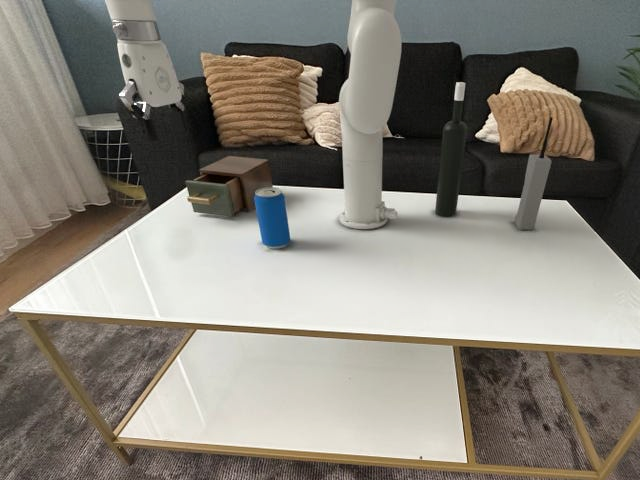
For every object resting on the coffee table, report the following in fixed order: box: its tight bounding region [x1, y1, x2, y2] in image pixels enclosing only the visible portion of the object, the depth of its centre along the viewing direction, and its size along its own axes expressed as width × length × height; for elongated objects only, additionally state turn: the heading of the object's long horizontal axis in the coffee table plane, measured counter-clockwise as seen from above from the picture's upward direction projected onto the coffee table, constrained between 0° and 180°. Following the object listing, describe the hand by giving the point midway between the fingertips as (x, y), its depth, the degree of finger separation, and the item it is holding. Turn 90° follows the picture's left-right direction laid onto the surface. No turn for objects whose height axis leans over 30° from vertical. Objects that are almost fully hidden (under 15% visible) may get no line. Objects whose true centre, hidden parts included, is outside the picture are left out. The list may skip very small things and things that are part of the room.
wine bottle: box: [434, 81, 468, 218], centre depth 102 cm, size 6×6×30 cm
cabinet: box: [198, 155, 274, 212], centre depth 114 cm, size 15×13×10 cm
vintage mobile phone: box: [513, 116, 554, 231], centre depth 98 cm, size 4×5×25 cm
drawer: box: [184, 174, 245, 218], centre depth 107 cm, size 18×11×8 cm, turn 165°
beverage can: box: [254, 187, 291, 250], centre depth 91 cm, size 6×6×12 cm
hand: (166, 135), depth 87 cm, fingers open, 9 cm apart
